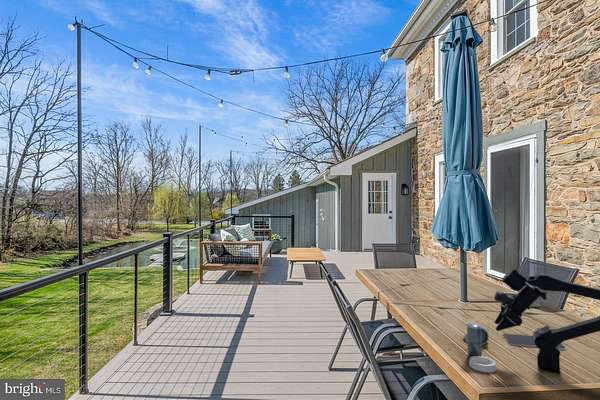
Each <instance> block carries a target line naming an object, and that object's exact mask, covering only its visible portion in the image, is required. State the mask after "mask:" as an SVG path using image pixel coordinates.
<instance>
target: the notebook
mask: <svg viewBox="0 0 600 400" xmlns="http://www.w3.org/2000/svg"><path fill="white" fill-rule="evenodd" d="M502 336H503V337H504V338H505V340H506V341H507V342H508V344H510V346H517V347H528V348H538V347H537V346H536V345H535V342H534V340H533V337H532V335H527V334H526V335H525V334H514V333H513V334H512V333H502ZM557 347H558V349H559V351H560V350H561V351H564V350H566V346H565V345H564V344H562V343H561V344H559V345H558V346H557Z"/></svg>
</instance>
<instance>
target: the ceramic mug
mask: <svg viewBox="0 0 600 400" xmlns="http://www.w3.org/2000/svg"><path fill="white" fill-rule="evenodd" d="M479 325H481V326H482V328H481V339H482V346H483V345H485V344H487V342H488V341H489V338H490V337H489V331H488V329H487V327H486V326H484V325H483V324H479ZM462 338H463V339H464V341H467V333H466V334H464V335H463V336H462Z"/></svg>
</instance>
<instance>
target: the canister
mask: <svg viewBox="0 0 600 400" xmlns="http://www.w3.org/2000/svg"><path fill="white" fill-rule="evenodd" d="M481 325H482V324H480V325H479V324H477V323H473V322H472V323H471V322H470V323H467V324H466V334H467V340H466V341H467V342H466V343H467V358H468V357H469V358H468V359H470V357H471V356H483V348H482V347H483V345H482V339H481V328H482V326H481Z"/></svg>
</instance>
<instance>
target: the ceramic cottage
mask: <svg viewBox="0 0 600 400" xmlns="http://www.w3.org/2000/svg"><path fill="white" fill-rule="evenodd" d="M526 283H527V282H526ZM527 284H528V283H527ZM528 285H529V286H531V285H530V284H528ZM524 287H525V286H524ZM524 287H523V288H524ZM531 287H536V286H531ZM523 288H522V289H523ZM536 288H537V287H536ZM522 289H521V290H522ZM521 290H520V291H521ZM520 291H518V292H517V293H516V295H517V294H518V293H519V292H520ZM539 298H540V297H539ZM539 298H538V299H537V300H536V301H535V302H534V303H533V304H532V305H531V306H530V308H539V307H541V303H540V299H539Z"/></svg>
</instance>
